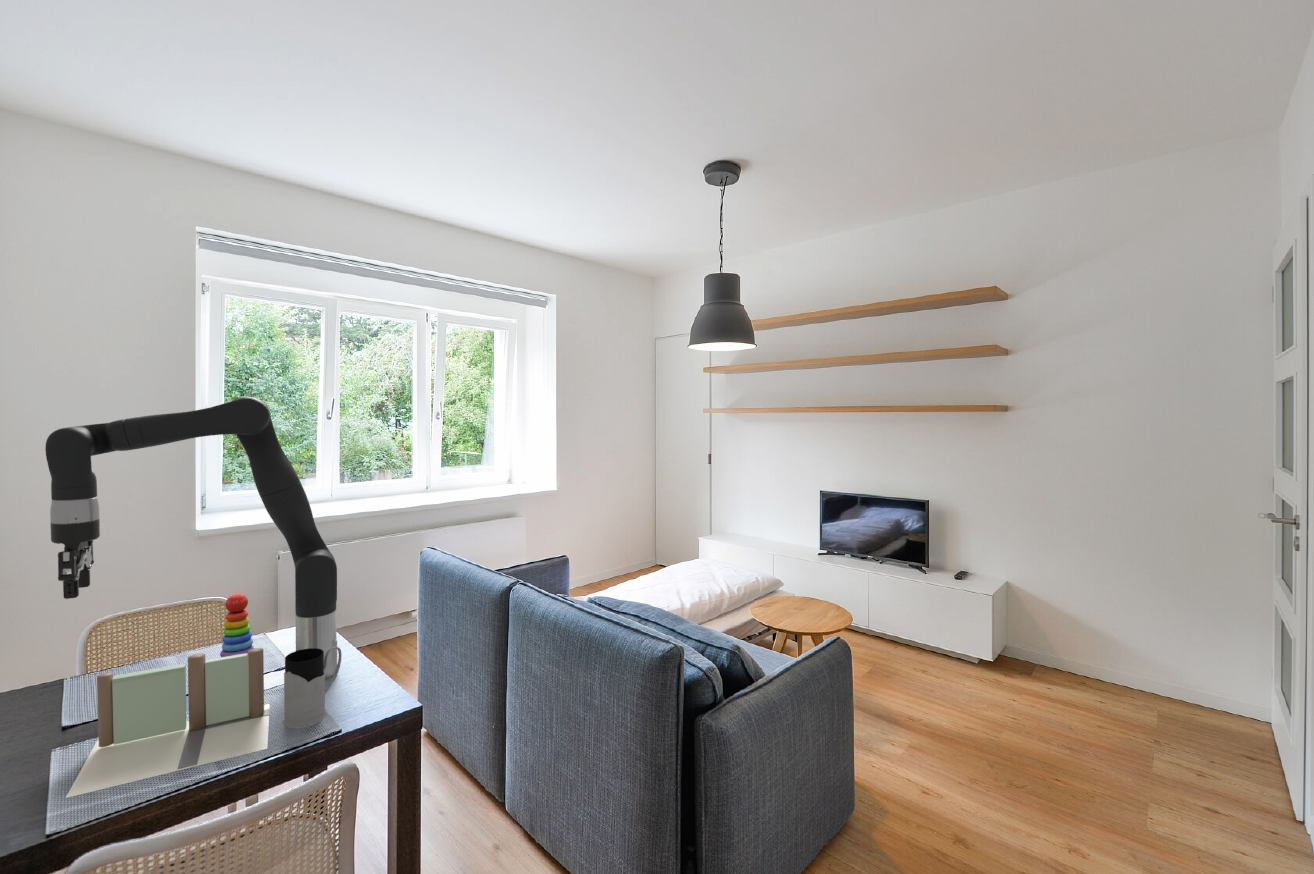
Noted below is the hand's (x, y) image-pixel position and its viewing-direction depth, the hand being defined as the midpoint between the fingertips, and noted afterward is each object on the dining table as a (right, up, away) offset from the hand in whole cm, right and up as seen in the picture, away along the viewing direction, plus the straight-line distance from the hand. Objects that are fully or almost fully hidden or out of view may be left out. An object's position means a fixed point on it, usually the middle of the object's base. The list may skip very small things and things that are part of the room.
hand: (77, 592), depth 127 cm
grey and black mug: (+48, -30, +8) cm, 57 cm away
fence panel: (+19, -29, -5) cm, 35 cm away
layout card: (+28, -30, -6) cm, 42 cm away
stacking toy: (+11, -28, +33) cm, 45 cm away
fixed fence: (+31, -30, +3) cm, 43 cm away
